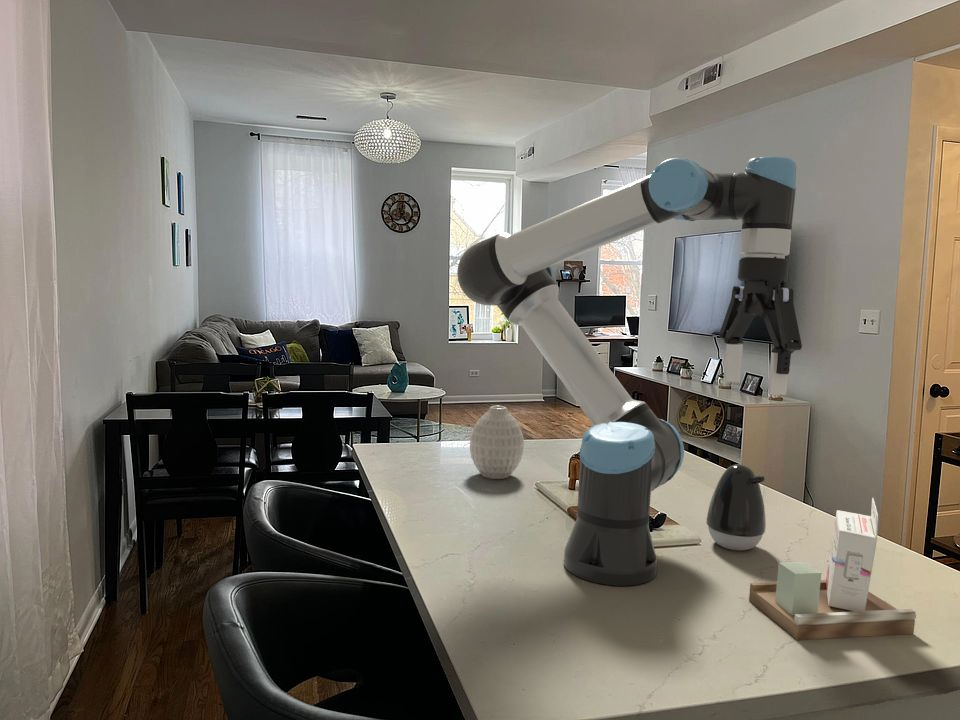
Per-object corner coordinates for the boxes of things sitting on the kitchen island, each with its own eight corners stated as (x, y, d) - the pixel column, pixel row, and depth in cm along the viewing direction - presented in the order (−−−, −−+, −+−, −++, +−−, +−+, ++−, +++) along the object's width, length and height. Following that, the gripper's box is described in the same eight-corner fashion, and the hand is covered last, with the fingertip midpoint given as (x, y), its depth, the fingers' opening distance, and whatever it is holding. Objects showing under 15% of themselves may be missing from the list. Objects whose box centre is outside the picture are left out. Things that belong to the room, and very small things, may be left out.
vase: (531, 475, 176) (535, 407, 174) (504, 486, 165) (508, 414, 163) (486, 465, 183) (489, 400, 181) (458, 476, 172) (460, 406, 170)
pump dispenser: (736, 559, 126) (743, 474, 125) (693, 539, 135) (699, 460, 134) (777, 552, 131) (784, 469, 129) (732, 533, 140) (739, 455, 138)
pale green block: (791, 615, 101) (795, 573, 100) (775, 602, 105) (778, 562, 104) (817, 614, 102) (821, 572, 101) (800, 601, 106) (803, 561, 105)
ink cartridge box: (823, 580, 112) (838, 489, 109) (859, 588, 110) (875, 496, 107) (826, 606, 104) (842, 509, 101) (865, 615, 102) (882, 517, 99)
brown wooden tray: (797, 640, 98) (799, 617, 98) (748, 600, 110) (750, 580, 110) (914, 634, 101) (916, 612, 101) (854, 596, 113) (857, 576, 113)
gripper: (835, 256, 105) (822, 401, 108) (744, 259, 130) (734, 377, 132) (788, 254, 104) (775, 400, 106) (705, 257, 128) (696, 376, 131)
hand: (753, 388), depth 119 cm, fingers open, 13 cm apart
